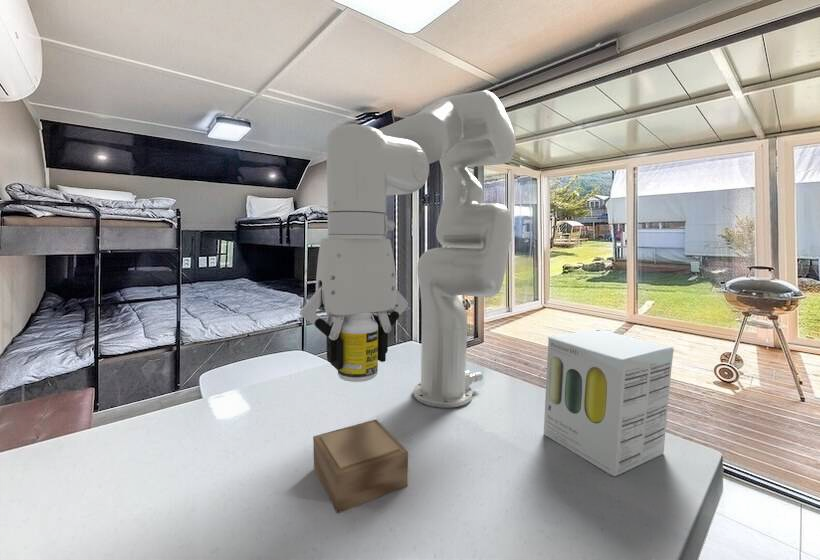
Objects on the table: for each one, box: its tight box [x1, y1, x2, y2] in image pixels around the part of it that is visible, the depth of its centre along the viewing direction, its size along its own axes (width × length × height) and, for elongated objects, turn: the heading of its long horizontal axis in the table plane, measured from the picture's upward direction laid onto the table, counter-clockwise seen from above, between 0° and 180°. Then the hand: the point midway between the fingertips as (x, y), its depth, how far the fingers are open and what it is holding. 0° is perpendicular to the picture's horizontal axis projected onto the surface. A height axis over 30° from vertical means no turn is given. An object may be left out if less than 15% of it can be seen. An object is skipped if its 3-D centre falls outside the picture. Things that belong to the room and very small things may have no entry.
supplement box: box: [543, 328, 675, 477], centre depth 59 cm, size 13×13×18 cm
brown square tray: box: [312, 419, 409, 514], centre depth 51 cm, size 10×10×5 cm
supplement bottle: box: [337, 313, 379, 383], centre depth 49 cm, size 5×5×10 cm
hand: (358, 361), depth 49 cm, fingers closed on supplement bottle, 5 cm apart
